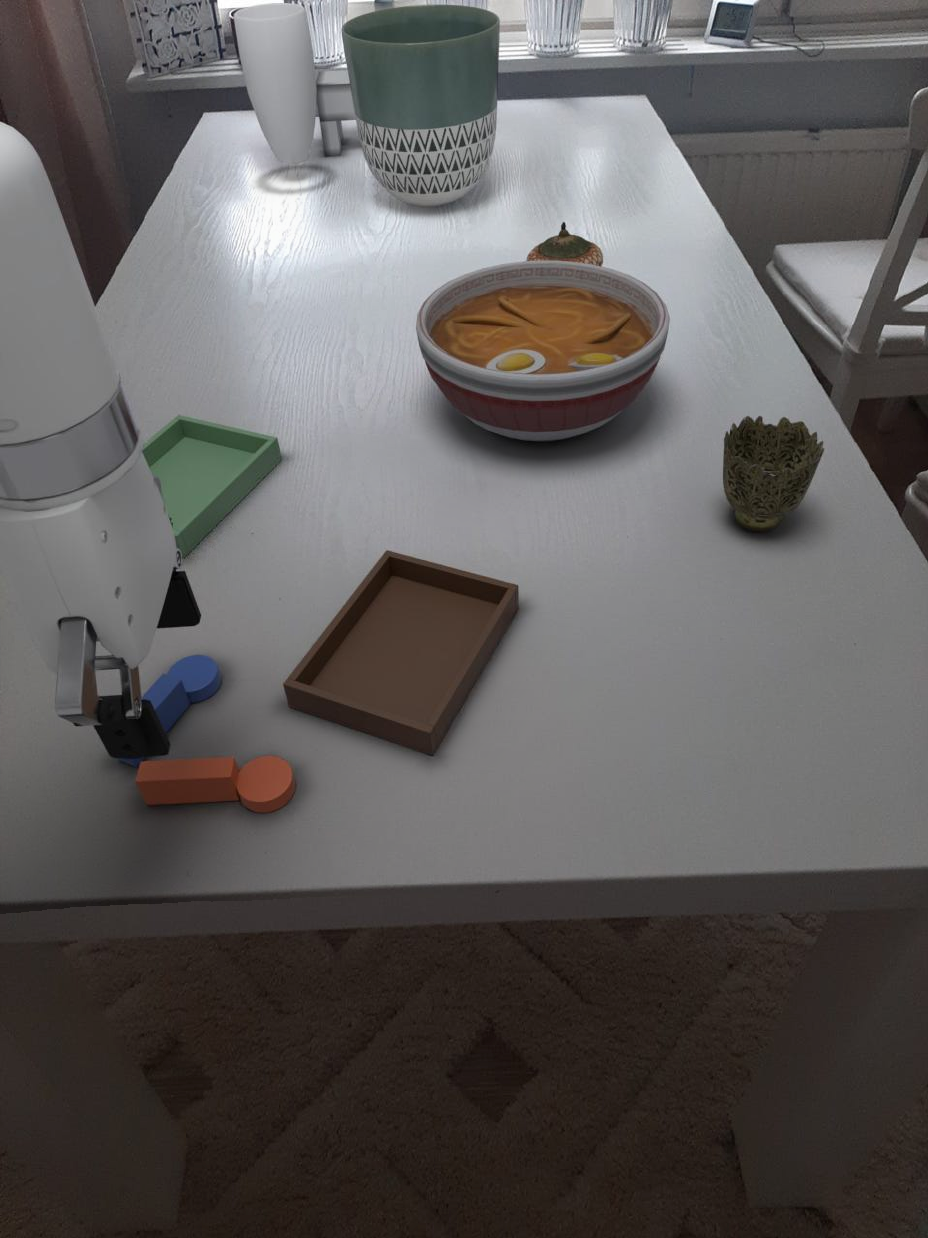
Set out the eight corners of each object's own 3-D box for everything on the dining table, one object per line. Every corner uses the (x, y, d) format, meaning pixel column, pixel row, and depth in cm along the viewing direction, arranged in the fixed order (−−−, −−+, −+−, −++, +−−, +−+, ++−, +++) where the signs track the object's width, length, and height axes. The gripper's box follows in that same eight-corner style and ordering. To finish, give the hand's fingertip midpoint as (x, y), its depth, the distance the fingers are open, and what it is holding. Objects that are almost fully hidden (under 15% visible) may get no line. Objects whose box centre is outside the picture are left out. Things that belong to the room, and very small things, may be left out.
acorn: (611, 304, 107) (617, 214, 100) (578, 335, 102) (582, 243, 95) (548, 289, 110) (549, 202, 103) (512, 318, 105) (511, 229, 98)
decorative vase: (804, 500, 79) (825, 419, 74) (802, 556, 74) (824, 473, 69) (714, 489, 81) (728, 409, 75) (706, 543, 76) (720, 460, 70)
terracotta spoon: (143, 819, 59) (131, 795, 57) (154, 772, 62) (143, 748, 60) (292, 811, 59) (285, 787, 57) (298, 765, 62) (291, 740, 60)
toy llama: (312, 141, 152) (291, -4, 138) (420, 135, 152) (410, -11, 138) (308, 157, 147) (286, 7, 133) (420, 150, 146) (409, 0, 132)
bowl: (602, 504, 80) (610, 402, 73) (378, 440, 89) (366, 343, 82) (692, 379, 94) (705, 283, 87) (491, 334, 103) (489, 243, 96)
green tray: (183, 558, 77) (176, 535, 76) (79, 527, 81) (69, 505, 79) (282, 459, 87) (277, 437, 86) (184, 435, 91) (178, 414, 89)
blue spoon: (149, 772, 62) (137, 748, 60) (106, 755, 63) (93, 731, 61) (231, 673, 68) (223, 649, 66) (190, 660, 69) (181, 635, 67)
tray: (432, 755, 62) (430, 733, 60) (288, 706, 65) (282, 684, 64) (518, 608, 71) (518, 584, 70) (389, 572, 75) (386, 549, 73)
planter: (336, 217, 128) (312, 38, 113) (399, 168, 141) (384, 1, 126) (469, 234, 122) (462, 47, 107) (522, 181, 135) (522, 7, 120)
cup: (332, 164, 144) (310, -1, 129) (330, 189, 136) (306, 17, 121) (265, 169, 144) (234, 4, 128) (258, 194, 136) (225, 22, 121)
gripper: (23, 341, 48) (129, 585, 60) (-115, 568, 36) (53, 817, 48) (169, 331, 48) (245, 578, 60) (81, 555, 35) (199, 808, 47)
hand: (160, 684), depth 54 cm, fingers open, 9 cm apart
